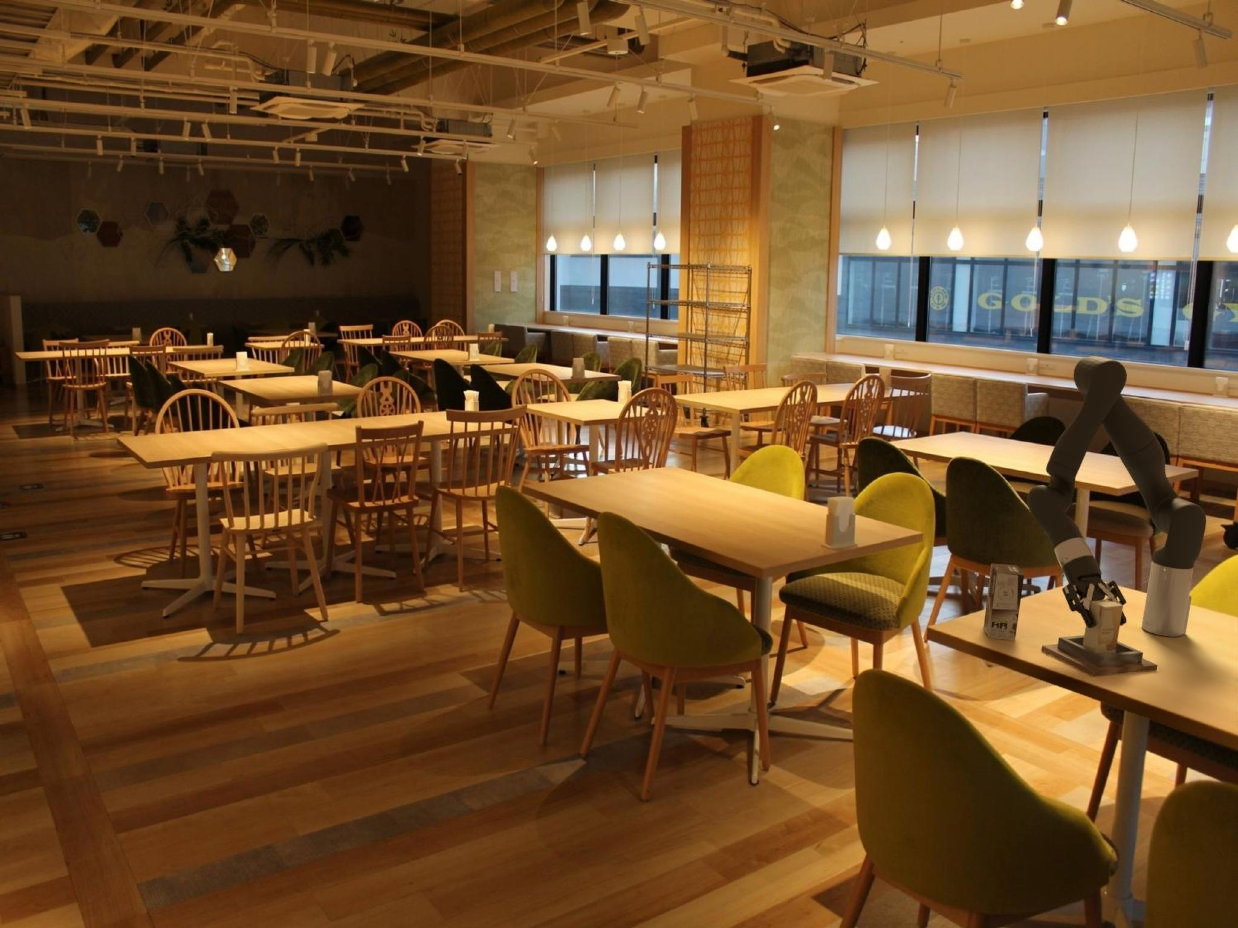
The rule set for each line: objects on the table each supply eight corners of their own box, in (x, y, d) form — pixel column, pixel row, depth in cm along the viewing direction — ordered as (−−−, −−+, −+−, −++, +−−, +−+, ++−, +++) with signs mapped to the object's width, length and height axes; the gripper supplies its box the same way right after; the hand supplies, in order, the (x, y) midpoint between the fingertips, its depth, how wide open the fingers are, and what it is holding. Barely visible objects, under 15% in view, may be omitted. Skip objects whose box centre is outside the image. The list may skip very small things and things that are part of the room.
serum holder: (1102, 644, 254) (1104, 630, 253) (1156, 669, 239) (1159, 654, 238) (1041, 650, 247) (1043, 635, 247) (1093, 676, 233) (1096, 660, 232)
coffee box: (1016, 641, 253) (1025, 575, 250) (987, 637, 254) (996, 572, 251) (1010, 628, 261) (1018, 564, 258) (982, 625, 263) (990, 562, 260)
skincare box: (1096, 659, 240) (1104, 607, 237) (1080, 652, 244) (1088, 601, 241) (1116, 656, 243) (1124, 604, 240) (1100, 649, 246) (1108, 598, 244)
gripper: (1062, 555, 243) (1094, 620, 235) (1111, 552, 248) (1143, 616, 240) (1043, 571, 249) (1072, 634, 241) (1091, 568, 254) (1121, 630, 246)
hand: (1108, 625), depth 240 cm, fingers open, 8 cm apart
